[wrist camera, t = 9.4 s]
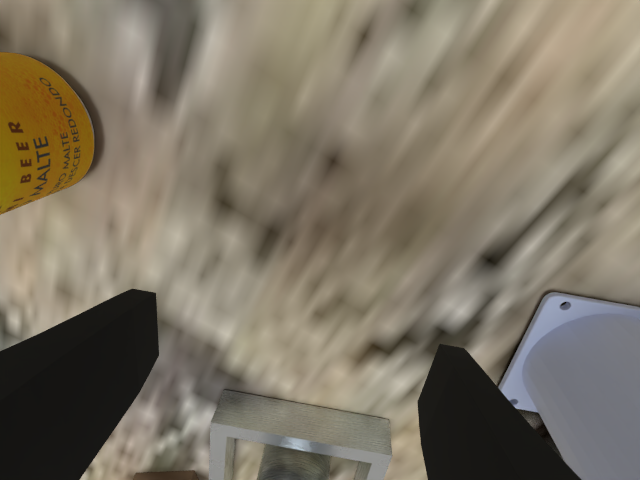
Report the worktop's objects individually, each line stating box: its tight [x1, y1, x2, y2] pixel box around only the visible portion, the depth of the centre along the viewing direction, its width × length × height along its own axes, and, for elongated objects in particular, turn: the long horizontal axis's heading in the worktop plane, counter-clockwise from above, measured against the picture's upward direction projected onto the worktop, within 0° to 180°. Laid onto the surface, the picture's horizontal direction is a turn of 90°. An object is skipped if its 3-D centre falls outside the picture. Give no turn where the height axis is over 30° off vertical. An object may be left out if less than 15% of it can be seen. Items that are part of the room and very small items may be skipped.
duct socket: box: [209, 389, 392, 480], centre depth 25 cm, size 11×12×2 cm
